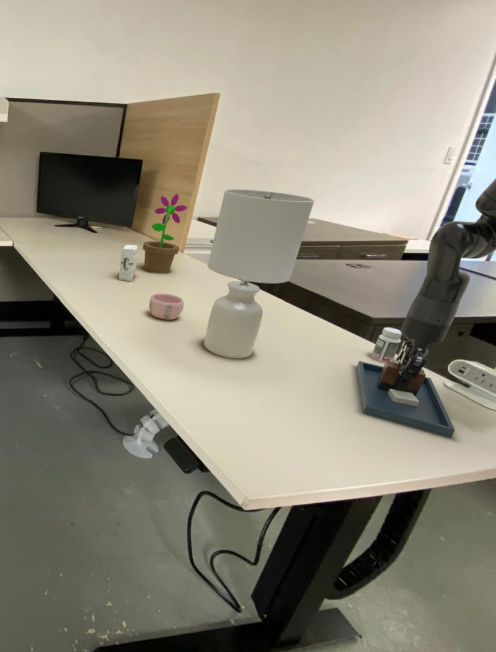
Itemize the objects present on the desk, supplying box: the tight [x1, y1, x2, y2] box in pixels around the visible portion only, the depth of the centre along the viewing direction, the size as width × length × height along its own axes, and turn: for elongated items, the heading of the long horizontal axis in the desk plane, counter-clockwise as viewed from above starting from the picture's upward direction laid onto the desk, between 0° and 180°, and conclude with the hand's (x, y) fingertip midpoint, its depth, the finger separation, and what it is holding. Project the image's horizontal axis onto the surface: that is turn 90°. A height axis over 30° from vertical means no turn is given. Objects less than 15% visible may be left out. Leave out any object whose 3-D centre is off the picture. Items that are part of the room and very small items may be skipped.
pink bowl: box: [148, 292, 185, 320], centre depth 141 cm, size 12×10×6 cm
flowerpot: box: [142, 193, 188, 274], centre depth 185 cm, size 14×14×30 cm
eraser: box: [377, 361, 427, 397], centre depth 105 cm, size 7×4×6 cm, turn 59°
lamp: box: [203, 188, 315, 359], centre depth 114 cm, size 19×19×39 cm
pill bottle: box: [371, 326, 403, 363], centre depth 122 cm, size 5×5×8 cm
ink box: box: [118, 244, 139, 283], centre depth 175 cm, size 9×5×12 cm, turn 160°
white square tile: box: [388, 389, 419, 406], centre depth 102 cm, size 4×4×1 cm
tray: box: [355, 360, 456, 439], centre depth 104 cm, size 26×15×2 cm, turn 150°
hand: (397, 386), depth 106 cm, fingers closed on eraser, 3 cm apart
